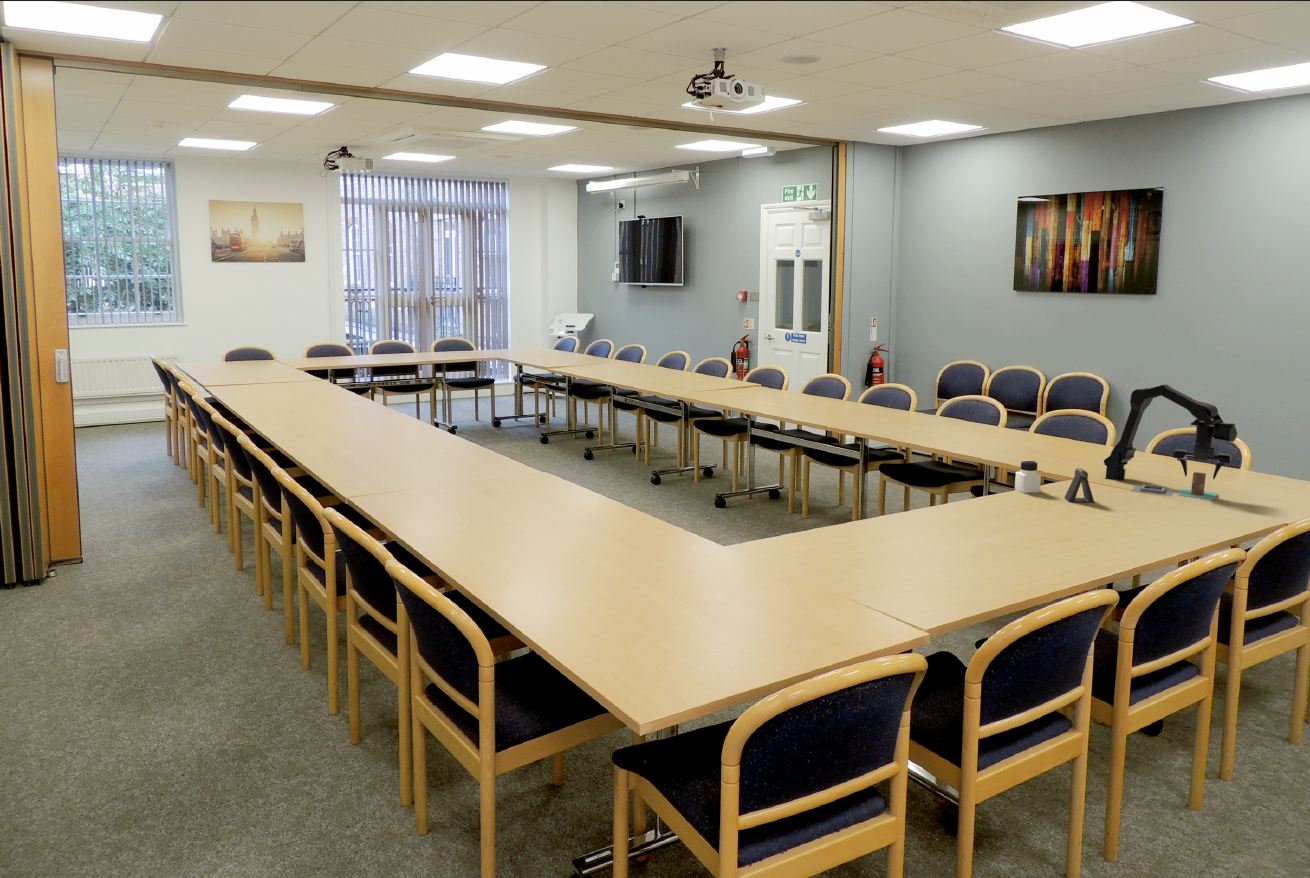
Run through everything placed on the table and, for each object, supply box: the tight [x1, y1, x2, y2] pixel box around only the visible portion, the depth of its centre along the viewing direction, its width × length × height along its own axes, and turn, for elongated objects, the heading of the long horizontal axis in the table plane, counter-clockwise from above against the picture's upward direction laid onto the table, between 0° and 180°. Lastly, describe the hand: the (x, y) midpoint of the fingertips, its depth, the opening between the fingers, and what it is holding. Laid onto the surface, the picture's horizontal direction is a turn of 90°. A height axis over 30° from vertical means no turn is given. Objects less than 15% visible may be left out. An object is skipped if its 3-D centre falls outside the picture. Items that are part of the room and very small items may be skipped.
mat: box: [1177, 488, 1218, 502], centre depth 352 cm, size 12×12×1 cm
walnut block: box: [1190, 471, 1207, 496], centre depth 351 cm, size 4×4×8 cm
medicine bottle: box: [1014, 459, 1042, 494], centre depth 360 cm, size 7×7×12 cm
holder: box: [1130, 484, 1176, 497], centre depth 359 cm, size 14×14×2 cm
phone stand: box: [1064, 467, 1095, 504], centre depth 345 cm, size 9×6×12 cm, turn 81°
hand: (1199, 477), depth 351 cm, fingers open, 9 cm apart
